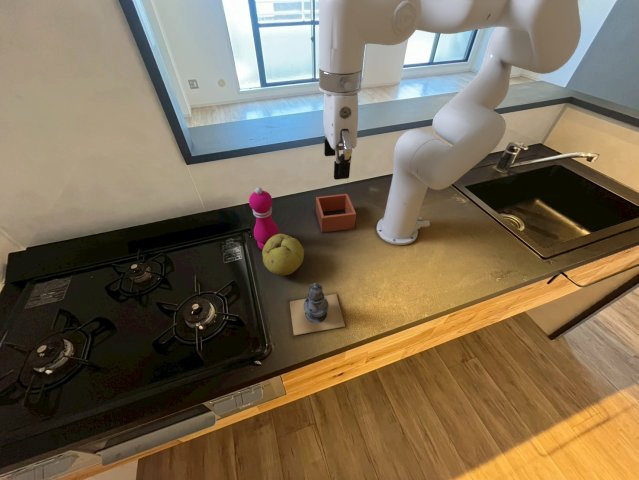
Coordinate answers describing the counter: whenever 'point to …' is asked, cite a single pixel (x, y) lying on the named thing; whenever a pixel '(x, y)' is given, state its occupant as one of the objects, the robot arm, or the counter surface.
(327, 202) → the holder
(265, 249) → the fruit
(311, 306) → the grey stone figurine
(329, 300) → the board
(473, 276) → the counter surface
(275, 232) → the pepper mill
